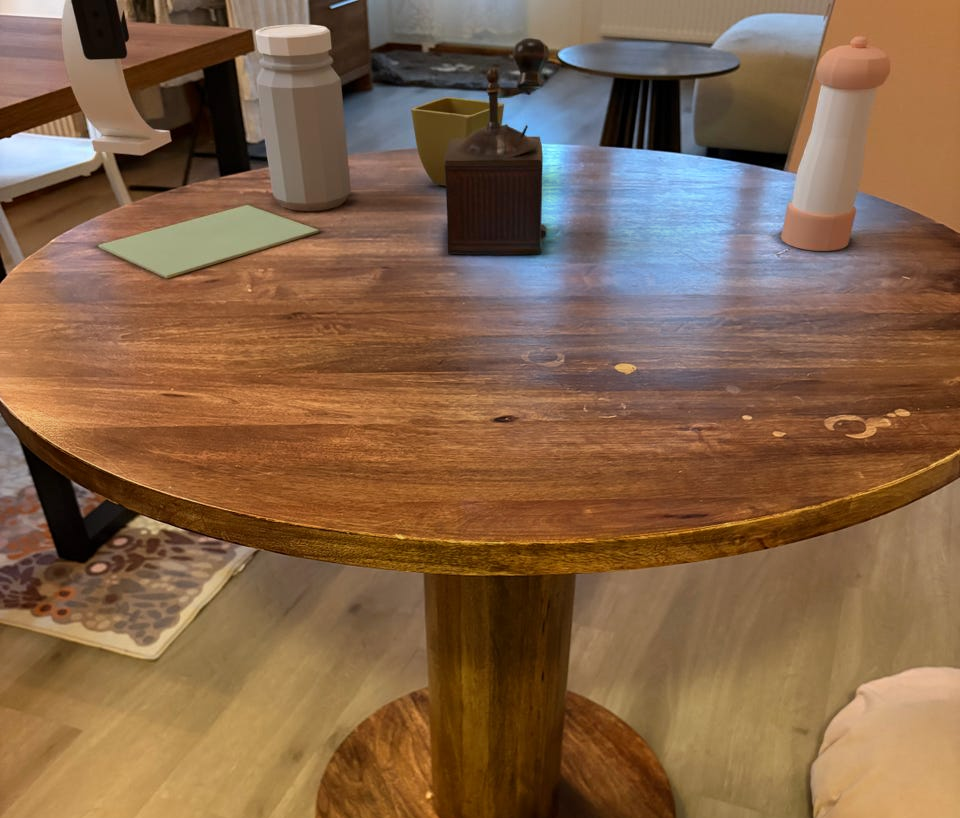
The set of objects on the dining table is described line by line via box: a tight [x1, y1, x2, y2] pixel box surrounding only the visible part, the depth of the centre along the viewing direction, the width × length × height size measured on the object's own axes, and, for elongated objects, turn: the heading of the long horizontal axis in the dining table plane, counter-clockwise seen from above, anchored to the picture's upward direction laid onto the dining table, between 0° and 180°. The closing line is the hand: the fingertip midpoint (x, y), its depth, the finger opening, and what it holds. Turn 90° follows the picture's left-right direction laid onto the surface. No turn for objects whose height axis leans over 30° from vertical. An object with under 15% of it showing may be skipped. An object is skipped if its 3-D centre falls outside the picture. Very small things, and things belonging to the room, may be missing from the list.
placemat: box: [97, 204, 320, 279], centre depth 103 cm, size 20×14×1 cm
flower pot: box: [410, 96, 505, 187], centre depth 117 cm, size 9×9×9 cm
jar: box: [254, 23, 352, 212], centre depth 108 cm, size 10×10×18 cm
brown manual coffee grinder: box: [445, 37, 550, 255], centre depth 99 cm, size 16×11×18 cm
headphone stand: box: [61, 0, 172, 156], centre depth 75 cm, size 5×6×12 cm
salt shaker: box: [780, 35, 891, 252], centre depth 96 cm, size 7×7×19 cm
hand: (108, 48), depth 74 cm, fingers closed on headphone stand, 7 cm apart
